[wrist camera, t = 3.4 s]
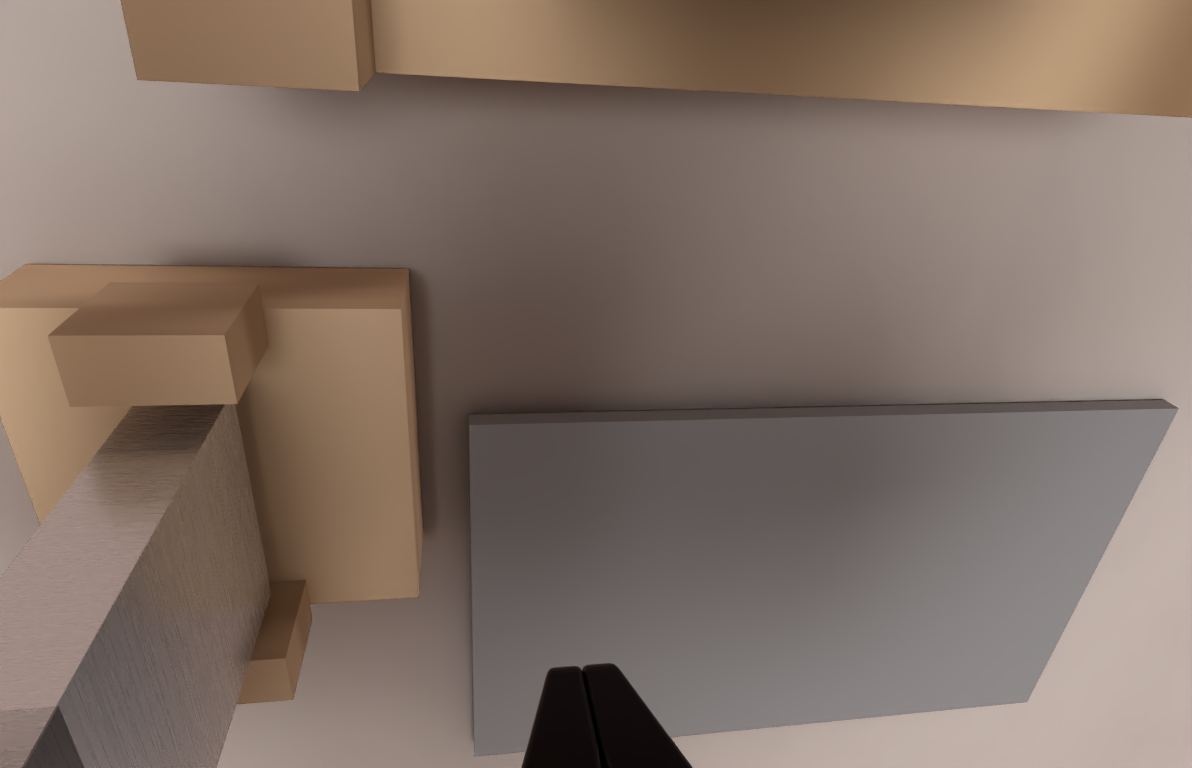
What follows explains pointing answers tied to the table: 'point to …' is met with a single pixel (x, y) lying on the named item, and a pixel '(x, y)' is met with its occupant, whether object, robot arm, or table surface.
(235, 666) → the lever
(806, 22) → the body
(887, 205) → the table surface
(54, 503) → the lever mount
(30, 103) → the table surface
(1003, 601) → the felt pad
